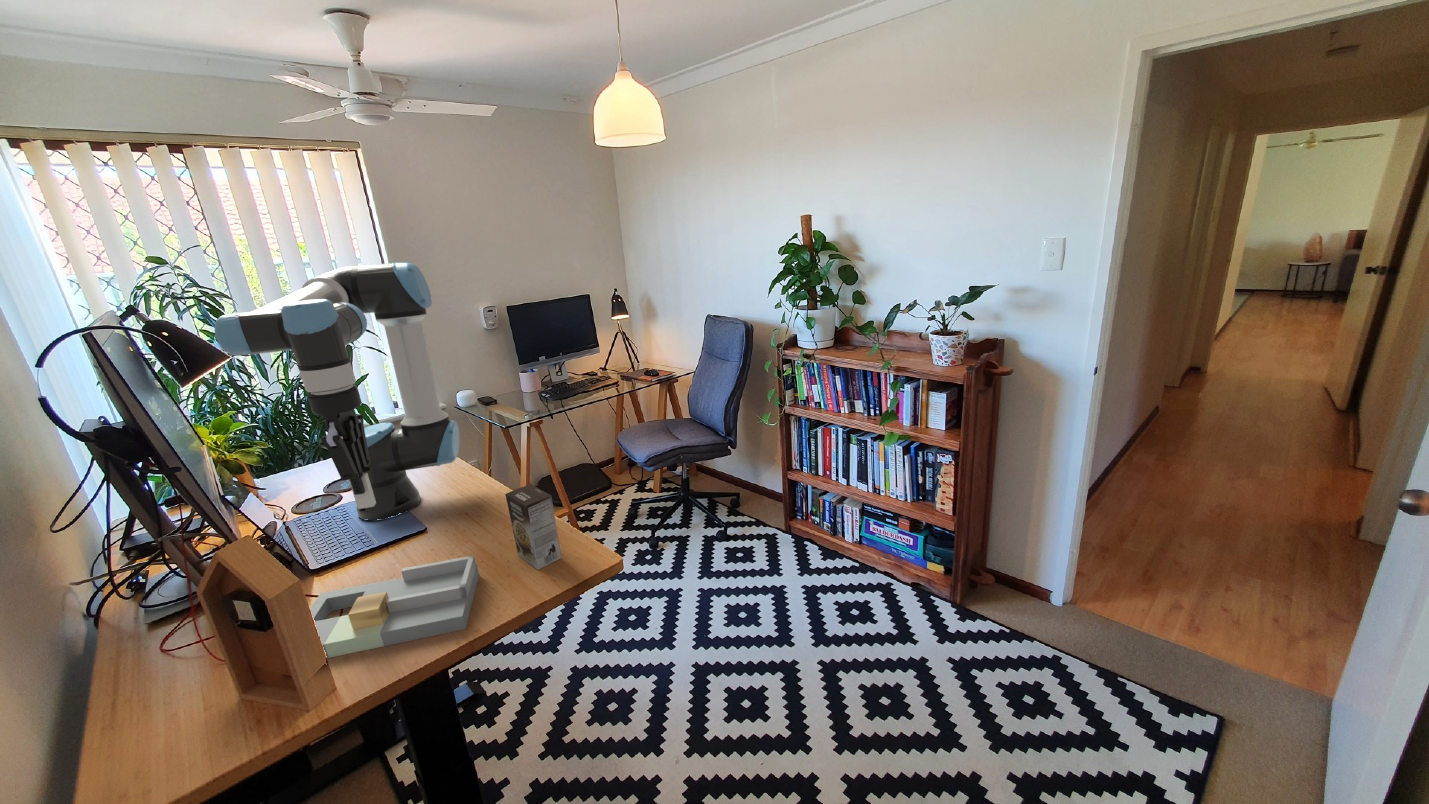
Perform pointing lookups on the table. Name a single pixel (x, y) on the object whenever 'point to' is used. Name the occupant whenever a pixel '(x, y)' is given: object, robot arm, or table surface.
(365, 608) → the ochre block
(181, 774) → the table surface
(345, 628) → the tray
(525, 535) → the coffee box
